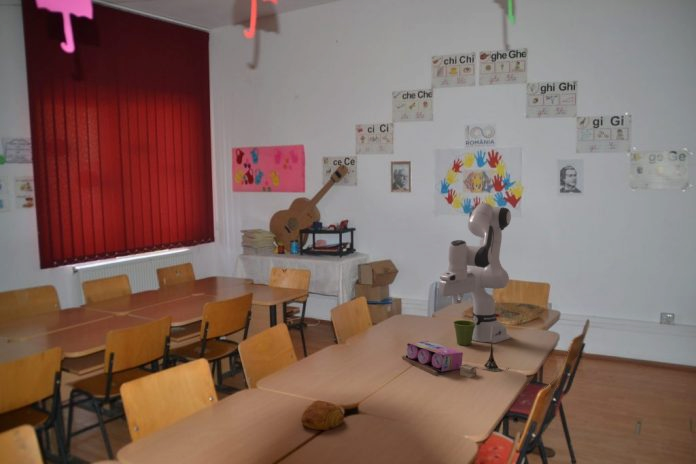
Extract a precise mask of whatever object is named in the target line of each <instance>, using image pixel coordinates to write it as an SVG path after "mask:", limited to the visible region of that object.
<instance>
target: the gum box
mask: <svg viewBox="0 0 696 464" xmlns="http://www.w3.org/2000/svg"><path fill="white" fill-rule="evenodd" d="M406 346H407V347H406V355H405V356H406V358H407V359H409V360H411V361H414V362H417V363H420V364H423V365H426V366H429V367H431V368H434V369H436V370H439V371H441V372H442V371H449V370H456V369H457V370H460V366H462V364H463V355H464V352H463V351H459V350H456V349H454V348H451V347H448V346H443V345H441V344H439V343H435V342H432V341H428V340H422V341H416V342H414V341H413V342H407V344H406Z"/></svg>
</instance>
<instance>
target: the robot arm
mask: <svg viewBox="0 0 696 464" xmlns="http://www.w3.org/2000/svg"><path fill="white" fill-rule="evenodd" d="M511 219H512V214H511V211H510V209H509V208H507V207H500V206H499V207H498V206H493V205H491V204H489V203H487V202H481V203H479V204H477V205H476V206H475V207H472V209H471V210H470V211H469V218H468V221H467V227H468V230H469V231H470V233H471V234H472V235H474V236H475V237H478V238H480V242H479V246H476V245H475V246H474V245H473V246H472V245H468V244H467V242H466V241H465V240H462V239H457V240H453V241H451V242H450V243H449V248H448V264H449V265H448V270H446V271H445V272H443V273H442V274H441V273H440V275H439V280H440V281H439V284H438V294H439V296H441V297H450V296H451V297H452V299H453V301H454V304H461V303H462V299H463V297H464V294H470V293H471V296H472V305H473V306H472V307H473V311H472V321H473V322H475V323H476V325H475V328H474V331H473V336H472V341H475V342H479V343H481V342H482V343H491V342H492V343H493V344H497V343H499V342H503V341H506V340H509V339H511V338H512V336H511V335H510V334H509V333H507V327H506V325H504V324H503V323H502V322H501V321H499V320H498V318H501V317H502V316H501V313H498V312H497V313H496V312H495V309H496V308H495V303H496V301H495V299H494V297H493V295H491V294H489V293H488V292H487V291H486V289H493V290H498V289H505V288H506V287H507V286H508V284H509V281H510V277H509V274H508V271H507V270H505V269H504V267H503V266H502V264H501V262H500V261H501V260H500V254H501V253H500V252H501V246H502V239H503V238H502V237H503V235H502V233H503V231H504V230H505V229H506V228H507V227H508V226H509V225H510V223H511Z"/></svg>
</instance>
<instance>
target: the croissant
mask: <svg viewBox="0 0 696 464" xmlns="http://www.w3.org/2000/svg"><path fill="white" fill-rule="evenodd" d="M344 419H345V415H344V412H343V411H342V408H341V407H340V406H338V405H336V404H334V403H333V402H329V401H325V400H319V399H317V400H315V401H313V402H312V403H311V404H309V405H306V407H305V409H304V410H303V413H302V415H301V418H300V421H301V424H302V425H303V426H305V427H306V428H308V429H312V430H315V431H316V430H317V431H321V430H322V431H327V430H328V431H329V430H330V429H331V428H332V429H333V428H335V427H338V426H340V425H341V424H343V423H344Z"/></svg>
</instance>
